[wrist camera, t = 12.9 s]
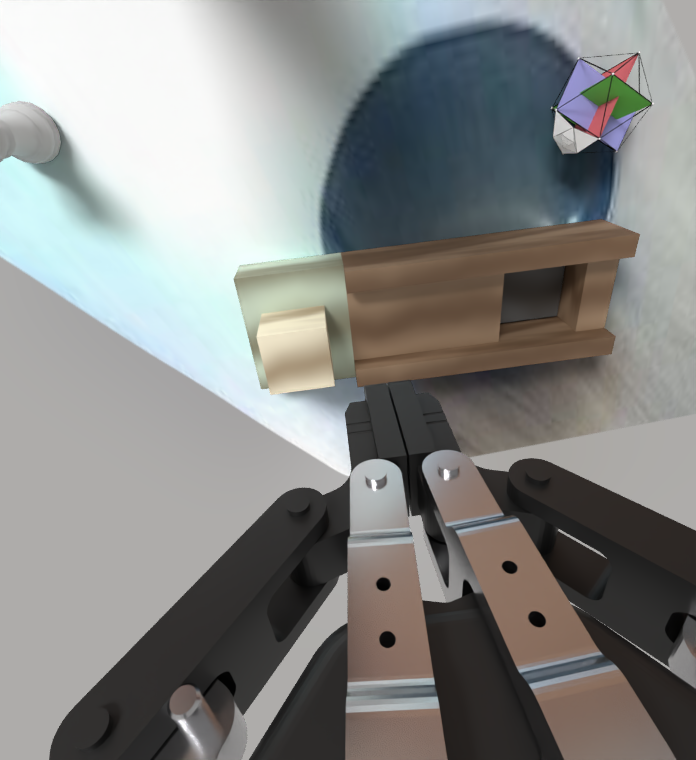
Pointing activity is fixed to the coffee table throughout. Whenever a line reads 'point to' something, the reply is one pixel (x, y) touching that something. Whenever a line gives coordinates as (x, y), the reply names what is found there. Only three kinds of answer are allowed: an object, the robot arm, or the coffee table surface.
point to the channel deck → (450, 301)
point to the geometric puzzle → (597, 107)
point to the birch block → (296, 350)
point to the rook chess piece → (27, 133)
